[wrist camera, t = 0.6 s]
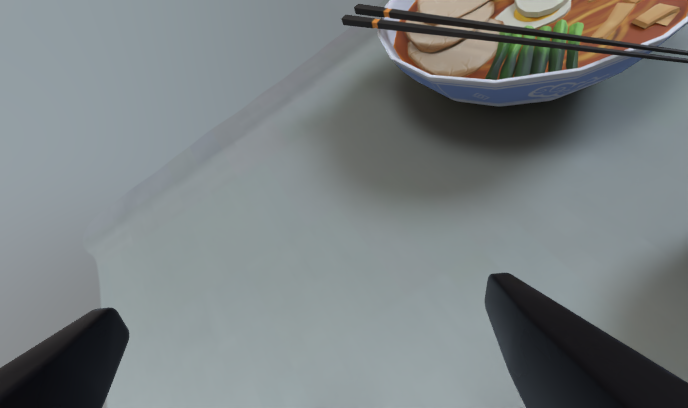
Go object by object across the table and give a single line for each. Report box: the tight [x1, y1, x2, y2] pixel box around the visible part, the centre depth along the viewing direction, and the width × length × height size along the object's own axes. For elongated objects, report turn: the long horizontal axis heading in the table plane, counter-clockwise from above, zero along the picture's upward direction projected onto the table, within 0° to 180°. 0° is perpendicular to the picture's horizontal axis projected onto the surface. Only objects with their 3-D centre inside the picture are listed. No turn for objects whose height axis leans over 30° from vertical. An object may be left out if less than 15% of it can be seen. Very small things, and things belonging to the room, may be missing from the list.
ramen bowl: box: [342, 0, 688, 107], centre depth 27 cm, size 25×23×8 cm
